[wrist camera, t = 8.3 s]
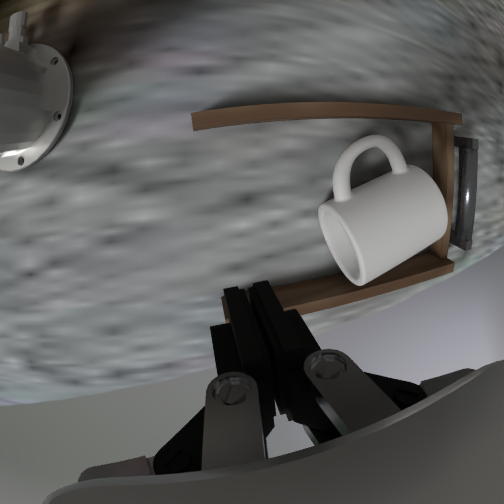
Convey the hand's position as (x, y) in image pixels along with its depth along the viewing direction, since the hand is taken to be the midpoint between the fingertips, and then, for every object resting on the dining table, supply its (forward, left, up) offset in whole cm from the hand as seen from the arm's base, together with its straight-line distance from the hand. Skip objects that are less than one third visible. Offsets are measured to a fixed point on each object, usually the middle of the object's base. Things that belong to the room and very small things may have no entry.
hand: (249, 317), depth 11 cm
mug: (0, +14, -17) cm, 22 cm away
